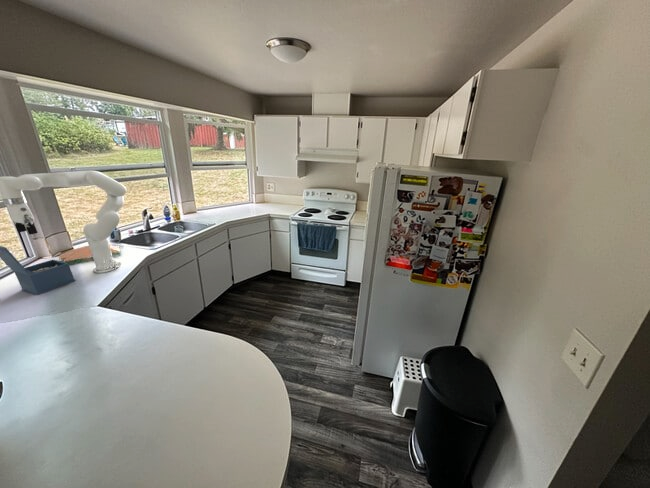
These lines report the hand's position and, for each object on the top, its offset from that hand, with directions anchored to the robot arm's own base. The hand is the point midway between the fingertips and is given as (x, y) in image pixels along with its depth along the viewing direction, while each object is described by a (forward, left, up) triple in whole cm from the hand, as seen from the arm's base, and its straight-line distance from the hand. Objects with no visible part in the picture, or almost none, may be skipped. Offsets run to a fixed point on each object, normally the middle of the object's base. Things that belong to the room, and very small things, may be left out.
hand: (27, 232), depth 135 cm
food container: (0, 0, -32) cm, 32 cm away
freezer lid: (+5, +8, -12) cm, 15 cm away
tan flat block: (+1, -45, -32) cm, 55 cm away
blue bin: (0, 0, -32) cm, 32 cm away
